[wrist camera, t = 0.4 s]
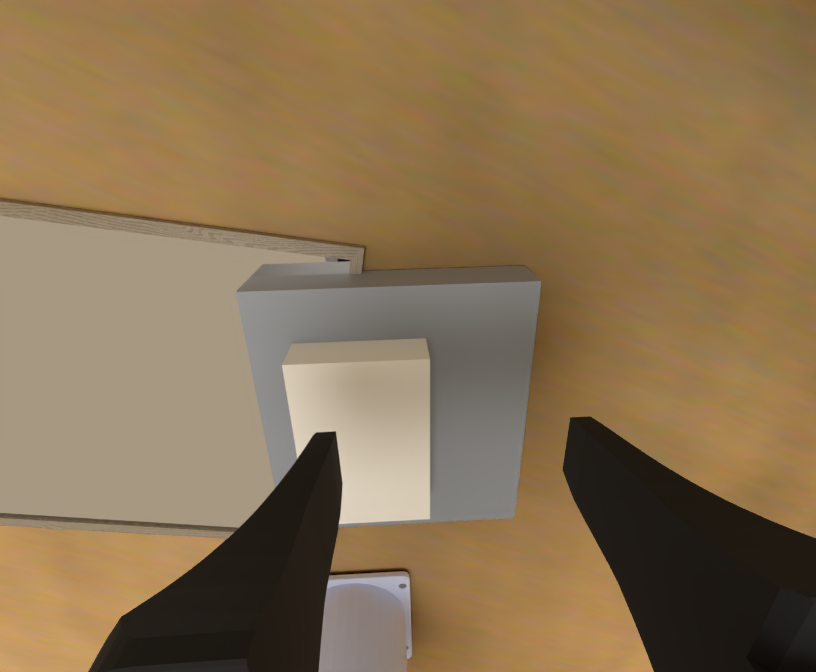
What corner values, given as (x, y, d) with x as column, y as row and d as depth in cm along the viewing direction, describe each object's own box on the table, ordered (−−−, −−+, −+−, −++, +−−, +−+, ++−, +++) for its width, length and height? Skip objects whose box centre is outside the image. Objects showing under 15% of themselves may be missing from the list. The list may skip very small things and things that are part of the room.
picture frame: (364, 243, 20) (-317, 154, 18) (364, 248, 20) (-356, 155, 17) (335, 531, 28) (-140, 502, 25) (334, 545, 27) (-160, 516, 24)
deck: (503, 485, 27) (514, 518, 24) (292, 496, 26) (283, 530, 24) (524, 265, 21) (541, 281, 18) (252, 274, 20) (235, 291, 18)
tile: (426, 489, 23) (429, 519, 21) (314, 495, 23) (308, 525, 21) (425, 338, 19) (429, 359, 18) (291, 343, 19) (281, 365, 17)
